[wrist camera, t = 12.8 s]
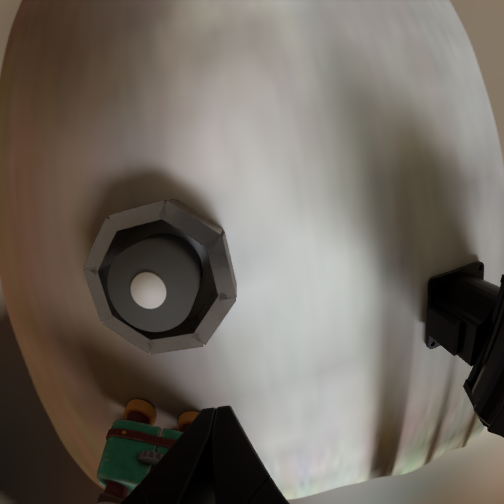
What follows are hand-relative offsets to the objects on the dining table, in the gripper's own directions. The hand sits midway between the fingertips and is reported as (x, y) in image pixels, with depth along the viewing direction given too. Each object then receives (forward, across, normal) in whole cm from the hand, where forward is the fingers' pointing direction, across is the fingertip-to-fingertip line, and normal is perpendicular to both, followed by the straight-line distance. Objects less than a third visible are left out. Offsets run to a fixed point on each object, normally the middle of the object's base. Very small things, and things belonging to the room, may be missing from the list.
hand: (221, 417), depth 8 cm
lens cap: (+12, +4, -2) cm, 13 cm away
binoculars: (+12, +9, +13) cm, 20 cm away
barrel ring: (+12, +4, -2) cm, 13 cm away
